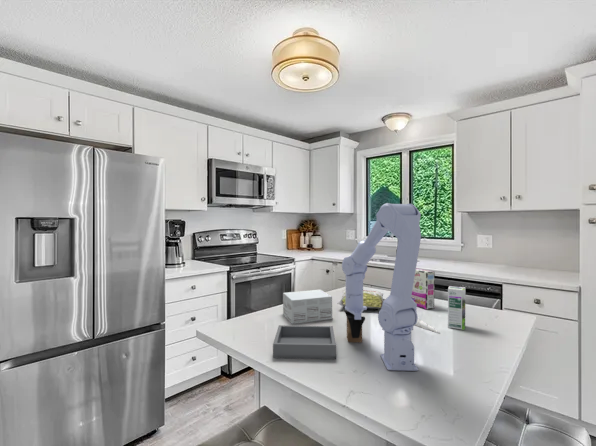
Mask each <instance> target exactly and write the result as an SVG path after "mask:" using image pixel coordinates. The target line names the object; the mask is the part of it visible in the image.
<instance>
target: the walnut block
mask: <svg viewBox="0 0 596 446" xmlns="http://www.w3.org/2000/svg"><path fill="white" fill-rule="evenodd" d="M346 339H347V343H363V326H362V327H361V331H360V336H359V338H352V335H351V328H350V323H349V320H348V318H347V317H346Z"/></svg>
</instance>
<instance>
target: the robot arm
mask: <svg viewBox="0 0 596 446" xmlns="http://www.w3.org/2000/svg"><path fill="white" fill-rule="evenodd" d="M375 215H376V221H375V222H374V225H373V226H372V228H371V230H370V231H369V233H368V235H367V236H366V239H363V240H360V241H358V243H357V245H356V247H355V249H353V251H352V253H351V255H349V256H346V257H344V258H343V260H342V262H341V269H342V271H343V273H344V275H345V290H346V306H344V310H343V311H344V314H345V317H346V319H347V318H348V320H349V323H350V328H351V335H352V338H359V336H360V331H361V327H362V328H363V324H364V323H365V321H366V317H365V316H362V314H363V312H364V311H367V309H368V308H367V307H366V306H363V290H364V280H365V278H366V273H367V270H368V264H369V262H370V261H371V259H372V258H373V256H374V255H375V254H376V252H377V247H376V246H377V245H378V244H379V243H380V242H381V240H382V239H383V238H384V236H385V235H386V234H387V233H388V232H390V233H391V234H392V236H395V238H396V239H397V241H398V242H397V247H396V255H395V261H394V268H393V274H392V280H391V287H390V293H389V295H388V296H387V297H386V298H385V299H384V300H383V304H382V308H381V309H379V310H378V311H379V312H378V314H377V320H378V323H379V325H380V328H382V331H383V333H384V334H383V341H384V342H383V349H384V351H383V353H380V357H381V359H382V361H383V364H384V366H385V368H386V370H388V371H409V372H410V371H411V372H413V371H415V372H416V371H417V372H418V371H419V368H418V366H416V364H415V346H414V345H415V344H414V343H413V341H412V331H413V330H414V326H416V325H415V324H416V323H417V320H418V319H419V318H418V317H419V316H418V312H417V308H418V307H417V304H416V303H415V302H414V301H413V300H412V299H411V295H412V289H413V283H414V277H415V271H416V268H417V264H418V258H419V251H420V246H421V239H422V233H421V227H420V222H421V215H422V213H421V212H420V210H419V209H418V208H417V206H415V205H414V204H412V203H390V202H386V203H384V204H382V205H381V206H380V207H379V210H378V211H377V212H376V214H375Z"/></svg>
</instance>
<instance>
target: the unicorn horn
mask: <svg viewBox="0 0 596 446" xmlns="http://www.w3.org/2000/svg"><path fill="white" fill-rule="evenodd" d="M414 326H416V327H419V328H421V329H425V330H427V331H431V332H434V333H437V334H441V332H440V331H439V330H438V329H436V327H433V326H431V325H430V324H428V323H427V322H425V321H424V320H422V319H420V318H418V320H417V323H416V324H415V325H414Z"/></svg>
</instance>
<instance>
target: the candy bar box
mask: <svg viewBox="0 0 596 446" xmlns="http://www.w3.org/2000/svg"><path fill="white" fill-rule="evenodd" d="M435 276H436V275H435V271H433V270H428V269H422V268H417V267H416V271H415V277H414V283H413V289H412V295H411V299H412V300H413V301H414V302H415V303H416V304H417V308H420V309H422V310H423V309H424V310H433V309H435V279H436V277H435Z"/></svg>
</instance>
